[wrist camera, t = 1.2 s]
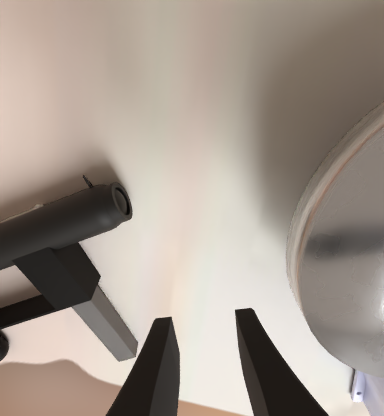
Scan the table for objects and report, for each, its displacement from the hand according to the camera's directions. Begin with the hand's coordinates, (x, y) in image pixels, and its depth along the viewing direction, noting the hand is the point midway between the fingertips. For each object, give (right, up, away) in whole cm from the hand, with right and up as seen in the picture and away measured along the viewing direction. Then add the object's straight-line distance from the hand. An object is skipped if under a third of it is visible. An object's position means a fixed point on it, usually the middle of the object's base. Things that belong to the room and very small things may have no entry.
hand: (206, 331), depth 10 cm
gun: (-12, -2, +12) cm, 17 cm away
